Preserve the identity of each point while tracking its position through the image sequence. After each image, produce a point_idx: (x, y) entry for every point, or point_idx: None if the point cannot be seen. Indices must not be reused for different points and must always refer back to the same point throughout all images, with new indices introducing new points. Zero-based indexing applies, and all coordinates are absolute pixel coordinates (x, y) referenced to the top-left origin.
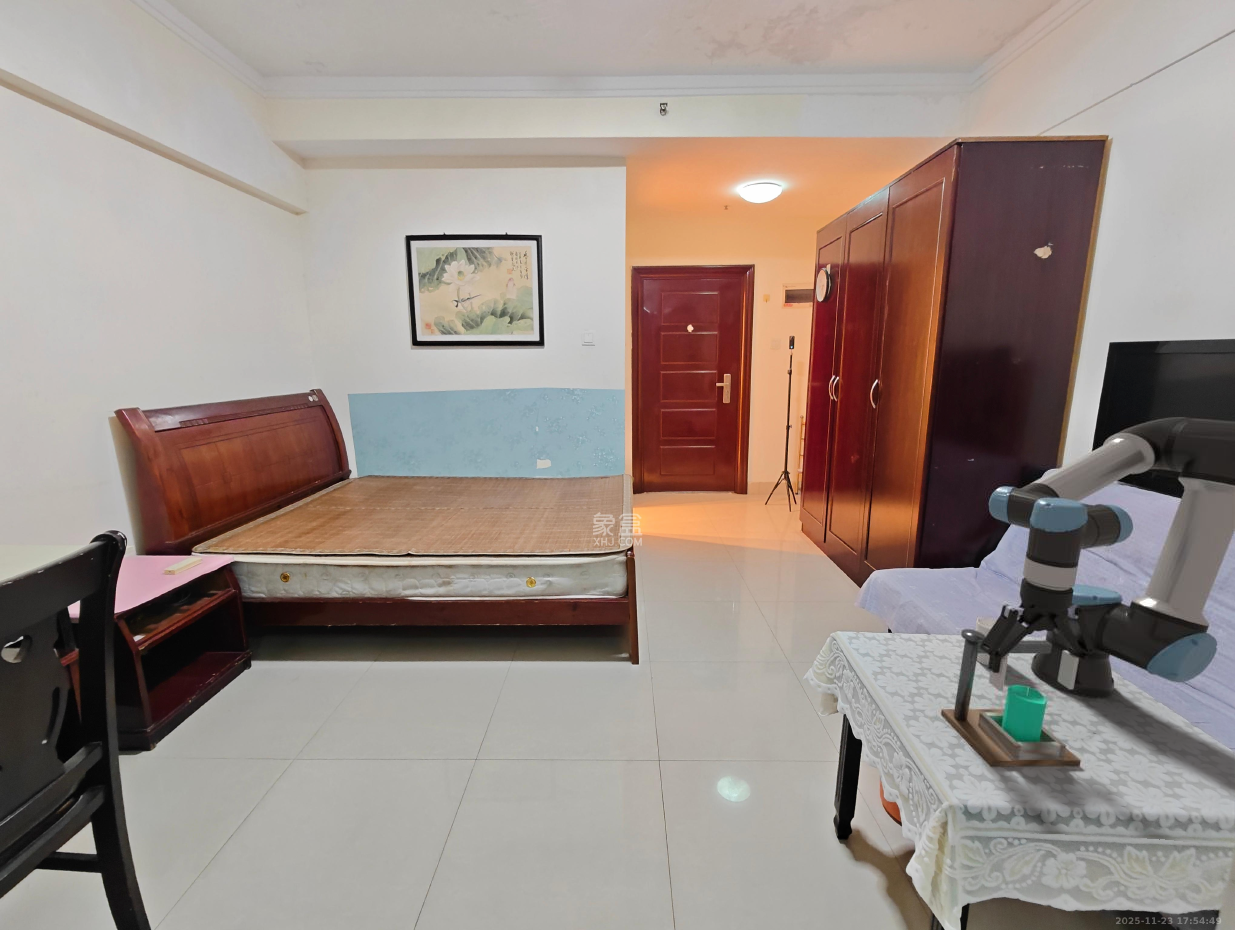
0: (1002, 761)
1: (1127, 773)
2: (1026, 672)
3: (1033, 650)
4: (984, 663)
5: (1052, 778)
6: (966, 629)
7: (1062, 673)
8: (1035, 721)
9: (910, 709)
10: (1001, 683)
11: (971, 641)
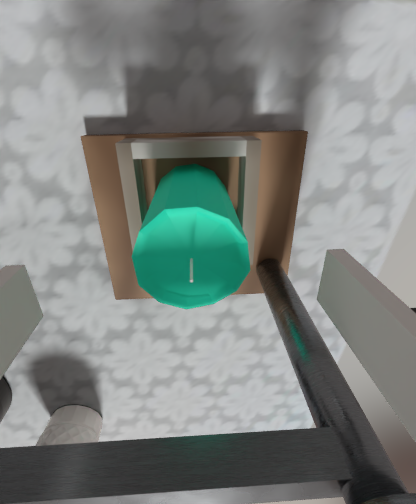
0: (280, 132)
1: None
2: (25, 397)
3: (72, 459)
4: (94, 412)
5: (184, 89)
6: None
7: (13, 336)
8: (191, 185)
9: None
10: (357, 266)
11: None
